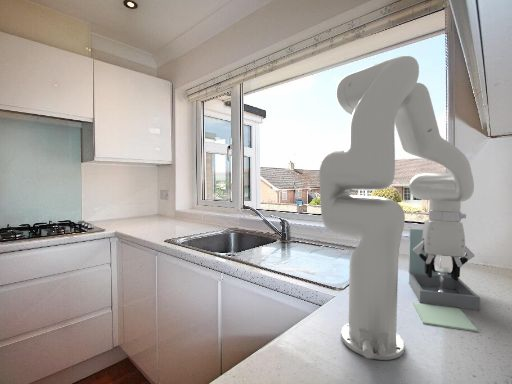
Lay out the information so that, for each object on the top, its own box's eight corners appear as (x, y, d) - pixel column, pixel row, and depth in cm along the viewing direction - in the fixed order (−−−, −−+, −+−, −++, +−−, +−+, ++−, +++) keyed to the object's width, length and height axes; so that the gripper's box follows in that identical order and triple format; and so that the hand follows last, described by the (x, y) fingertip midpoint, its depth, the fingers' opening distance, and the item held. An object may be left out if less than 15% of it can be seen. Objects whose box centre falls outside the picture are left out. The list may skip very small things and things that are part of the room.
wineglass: (426, 293, 80) (428, 253, 80) (431, 288, 84) (433, 250, 84) (450, 299, 76) (452, 257, 76) (454, 294, 80) (456, 254, 80)
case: (479, 310, 73) (482, 242, 72) (419, 302, 78) (421, 238, 77) (456, 287, 88) (458, 230, 87) (408, 282, 93) (409, 228, 92)
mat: (477, 331, 63) (477, 330, 63) (423, 323, 66) (423, 322, 66) (459, 309, 73) (459, 308, 73) (413, 303, 77) (413, 302, 77)
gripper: (473, 217, 80) (471, 277, 81) (408, 213, 86) (406, 270, 87) (485, 220, 73) (482, 286, 74) (413, 216, 79) (411, 278, 79)
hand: (441, 277), depth 80 cm, fingers closed on wineglass, 5 cm apart
